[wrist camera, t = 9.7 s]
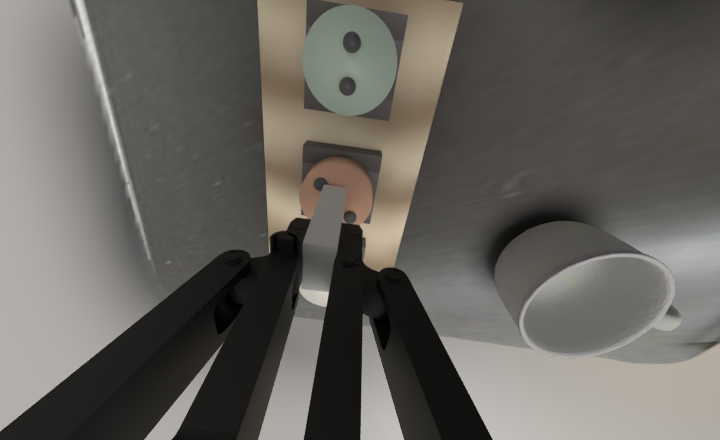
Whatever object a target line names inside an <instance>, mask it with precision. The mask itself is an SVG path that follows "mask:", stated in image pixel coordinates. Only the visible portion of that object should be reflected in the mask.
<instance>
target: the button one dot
mask: <svg viewBox="0 0 720 440" xmlns="http://www.w3.org/2000/svg"><path fill="white" fill-rule="evenodd" d="M299 291H300V293H301V294H302V296H303V297H304V298H305V299H307V300H308V301H310V302H311V303H313V304H316V305H319V306H324V307H327V301H328V295H329V292H324V291H315V290H306V289H301V285H300V289H299Z"/></svg>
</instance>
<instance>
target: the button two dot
mask: <svg viewBox="0 0 720 440" xmlns="http://www.w3.org/2000/svg"><path fill="white" fill-rule="evenodd" d="M302 65H303V72H304V76H305V79H306V82H307V85H308V87H309V89H310V91H311V92H312V94H313V95H314V97H315V98H316V99H317V100H318V101H319V102H320V103H321V104H322V105H323V106H324V107H326V108H327V109H329V110H330V111H332V112H335V113H337V114H341V115H346V116H356V115H361V114H364V113H367V112H369V111H371V110H373V109H374V108H376V107H377V106H378V105H379V104H380V103H381V102H382V101H383V100H384V99H385V98H386V96H387V95H388V93H389V92H390V90H391V88H392V86H393V83H394V80H395V76H396V72H397V51H396V46H395V42H394V40H393V37H392V35H391V33H390V31H389V29H388V27H387V26H386V24H385V23H384V22H383V21H382V20H381V19H380V18H379V17H378V16H377V15H376V14H375V13H373V12H372V11H370V10H368V9H366V8H364V7H360V6H357V5H341V6H337V7H334V8H332V9H330V10H328V11H326V12H325V13H323V14H322V15H321V16H320V17H319V18H318V19H317V20H316V21H315V22H314V24H313V25H312V27H311V28H310V30H309V32H308V34H307V36H306V39H305V43H304V47H303V55H302Z"/></svg>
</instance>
